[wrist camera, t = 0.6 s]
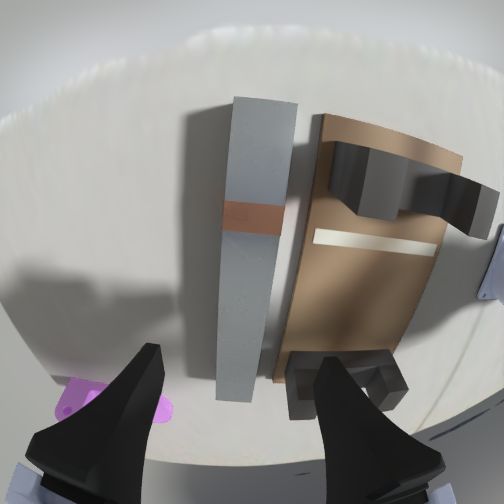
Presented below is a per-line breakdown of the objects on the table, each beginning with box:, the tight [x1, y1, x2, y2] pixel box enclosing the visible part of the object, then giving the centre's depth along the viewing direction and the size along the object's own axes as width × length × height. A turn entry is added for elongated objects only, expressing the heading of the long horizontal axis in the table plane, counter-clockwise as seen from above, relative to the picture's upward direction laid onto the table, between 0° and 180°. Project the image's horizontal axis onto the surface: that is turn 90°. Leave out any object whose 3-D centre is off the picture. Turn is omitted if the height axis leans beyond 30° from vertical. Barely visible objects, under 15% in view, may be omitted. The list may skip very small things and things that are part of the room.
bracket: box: [55, 377, 173, 423], centre depth 23 cm, size 13×6×7 cm, turn 94°
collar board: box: [272, 113, 500, 420], centre depth 17 cm, size 11×22×6 cm, turn 174°
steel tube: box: [216, 96, 298, 403], centre depth 17 cm, size 3×22×3 cm, turn 174°
